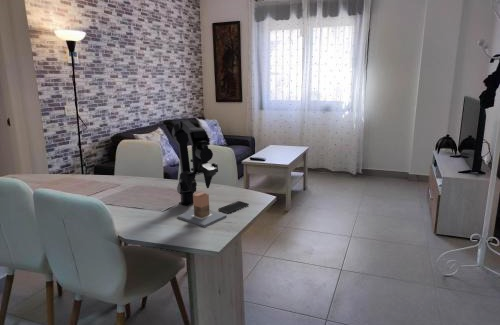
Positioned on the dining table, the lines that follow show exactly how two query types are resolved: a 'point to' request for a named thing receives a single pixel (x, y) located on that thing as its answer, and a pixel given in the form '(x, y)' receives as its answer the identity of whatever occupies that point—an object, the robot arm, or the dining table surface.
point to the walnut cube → (201, 211)
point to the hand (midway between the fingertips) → (200, 190)
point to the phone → (233, 207)
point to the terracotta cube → (201, 199)
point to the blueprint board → (202, 221)
